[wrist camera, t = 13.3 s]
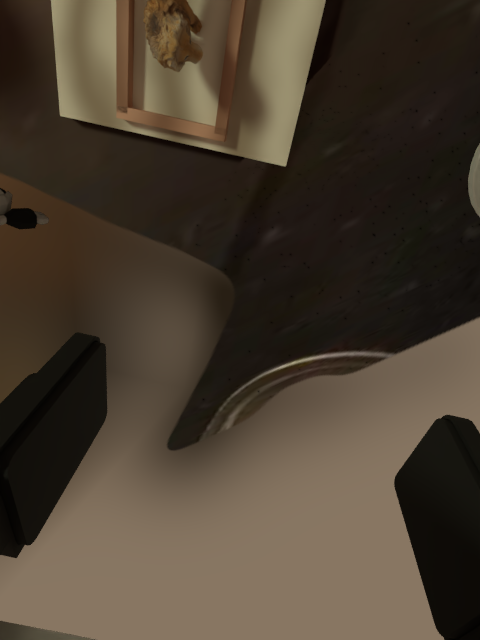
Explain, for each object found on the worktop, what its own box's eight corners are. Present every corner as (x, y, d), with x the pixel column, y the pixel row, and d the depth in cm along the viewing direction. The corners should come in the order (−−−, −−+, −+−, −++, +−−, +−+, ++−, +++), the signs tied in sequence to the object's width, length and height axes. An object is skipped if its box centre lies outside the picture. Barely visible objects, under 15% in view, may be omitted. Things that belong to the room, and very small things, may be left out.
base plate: (360, -148, 23) (369, -176, 21) (285, 164, 34) (285, 168, 32) (46, -220, 23) (20, -256, 21) (68, 115, 34) (52, 115, 32)
